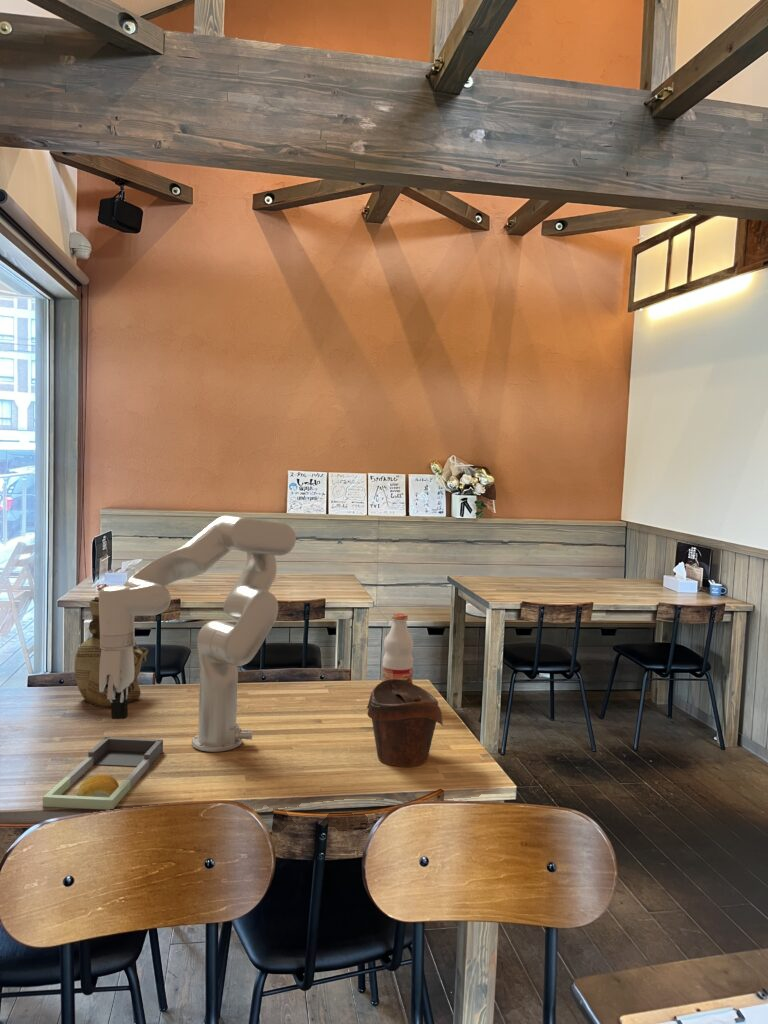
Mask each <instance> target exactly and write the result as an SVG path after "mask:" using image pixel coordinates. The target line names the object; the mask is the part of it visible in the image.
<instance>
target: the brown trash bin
mask: <svg viewBox="0 0 768 1024" xmlns="http://www.w3.org/2000/svg"><path fill="white" fill-rule="evenodd" d="M366 709H368V711H367V717H369V718H370V719H371V722H372V729H373V735H374V741H375V748H376V755H377V758H378V761H380V762H382V763H384V764H387V765H390V766H393V767H400V768H411V767H413V768H414V767H417V766H418V767H419V766H421V765H423V764H425V763H426V762H427V760H428V759H429V754H430V751H431V746H432V741H433V737H434V734H435V728H436V724H437V723H438V724H440V725H441V726H442V727H444V724H443V712H442V709H441V707H440V706H439V701H438V700H437V699H436V698H435V697H434V696H433V695H432V694H431V693H429V691H427V690H425V689H423V688H422V687H420V686H418V685H416V684H414V683H413V682H412V683H410V682H407V681H403V680H397V679H390V680H386V681H383V682H382V681H381V682H379V683H378V684H377V685H376V686H375V687H374V688H373V689H372V691H371V692H370V697H369V701H368V703H367V705H366Z"/></svg>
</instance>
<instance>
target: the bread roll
mask: <svg viewBox="0 0 768 1024" xmlns="http://www.w3.org/2000/svg"><path fill="white" fill-rule="evenodd" d="M119 786H120V784H119V782H118V780H117V779H115V778H114V777H113V776H112V775H109V774H96V775H93V776H91V777H88V778H87V779H85V780H84V781H82V782H81V784H80V785H79V787H78V788H77V791H76V796H89V797H110V796H111V795H112V794H113V792H114V791H115V790H116V789H117V788H118V787H119Z"/></svg>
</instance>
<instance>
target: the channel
mask: <svg viewBox="0 0 768 1024" xmlns="http://www.w3.org/2000/svg"><path fill="white" fill-rule="evenodd" d="M163 750H164V740H163V739H158V738H157V739H156V738H155V739H154V738H134V737H133V738H132V737H113V736H112V737H111V736H109V737H108V736H105V737H103V739H101V740H100V742H98V743H97V744H96V745H94V746H93V748H91V749H89V751H88V755H87V757H86V758H85V759H83V761H82V762H80V763H79V764H78V765H76V767H75V768H73V769H72V770H71V771H70V772H69V773H68V774H67V775H66V776H65V777H64V778H62V779H61V780H60V781H59V782H58V783H57V784H56V785H55V786H54V787H52V788H51V789H49V791H48V792H47V793H45V794H44V795H43V796H42V807H43V808H44V807H46V808H63V809H65V808H66V809H67V808H68V809H87V810H88V809H89V810H107V811H111V810H110V809H113V810H114V809H115V808H116V807H117V805H118V804H119V803H120V802H121V800H122V799H123V798H124V797H125V796H126V795H127V794H128V792H129V791H130V790H131V789H133V787H134V785H135V784H136V783H137V782H138V781H139V780H140V778H141V777H142V776H143V775H144V774H145V773H146V772H147V770H148V769H149V768H150V767H151V766H152V765H153V764H154V763H155V761H156V760H157V759H158V758H159V757H160V756H161V754H162V753H164V752H163ZM93 766H109V767H110V766H111V767H128V768H129V767H130V768H133V767H134V769H133V770H132V771H131V773H129V775H128V776H127V777H126V778H125V780H123V781H122V783H120V784H119V787H118V788H117V789H116V790H115V791H114V792H113V794H112V795H111V796H110V797H89V796H77V795H65V794H64V793H65V792H66V791H67V790H68V789H70V787H72V785H73V784H74V783H76V782H77V781H78V780H79V779H80V778H81V777H82V776H84V774H85V773H86V772H87V771H88V770H89V769H91V768H92V767H93ZM63 794H64V795H63Z"/></svg>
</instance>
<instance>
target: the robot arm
mask: <svg viewBox="0 0 768 1024" xmlns="http://www.w3.org/2000/svg"><path fill="white" fill-rule="evenodd" d="M296 541H297V536H296V533H295V530H294V529H293V528H292V526H290V525H289V524H286V523H284V522H275V521H269V520H262V519H261V520H260V519H256V518H251V517H243V516H238V515H222V516H219V517H217V518H216V519H214V520H213V521H212V522H210V523H209V524H208V525H207V526H205V527H204V528H203V529H202V530H201V531H199V532H198V533H197V534H196V535H195V536H194V537H192V538H191V539H189V540H188V541H187V542H186V543H184V544H183V545H182V546H180V547H179V548H176V549H175V550H172V551H170V552H168V553H166V554H165V555H162V556H160V557H158V558H156V559H153V560H151V562H149V563H147V564H146V565H144V566H143V567H142V568H140V569H139V570H138V571H136V572H135V573H134V574H133V575H132V576H130V577H129V578H128V579H127V580H126V581H125V583H124V584H122V585H109V586H105V587H102V588H101V589H100V590H99V592H98V599H99V623H100V648H101V649H102V650H101V656H100V670H99V691H100V692H101V693H103V692H105V691H106V690H107V689H108V694H107V699H108V700H110V702H111V708H110V711H111V712H110V713H111V714H110V715H111V719H112V720H125V719H126V718H127V717H128V716H129V712H128V708H129V707H128V705H129V704H128V703H127V700H125V699H127V698H128V687H129V685H130V684H131V683H132V682H133V680H134V654H133V646H135V642H136V641H135V640H136V638H135V637H136V636H135V635H136V634H135V631H136V630H135V629H136V628H135V617H137V616H138V617H141V616H144V617H145V616H146V617H147V616H157V615H159V614H160V615H161V614H162V613H164V612H165V611H166V610H167V609H168V608H169V607H170V604H171V601H172V596H171V593H170V591H169V590H168V588H166V587H167V586H169V585H170V584H172V583H175V582H178V581H179V580H185V579H189V578H194V577H197V576H200V575H201V576H202V574H205V573H206V572H207V571H208V570H209V569H210V568H212V567H213V566H215V564H216V563H217V562H219V561H220V560H221V559H223V557H225V556H226V555H227V554H229V553H230V552H231V551H238V552H245V553H246V562H245V565H244V568H243V569H242V571H241V573H240V575H239V577H238V578H237V580H236V581H235V583H234V585H232V588H231V590H230V591H229V593H228V595H226V598H225V600H224V602H223V611H224V614H225V615H226V616H227V617H228V618H229V619H230V620H233V621H236V623H230V622H227V621H223V620H211V621H209V622H207V623H205V624H204V625H202V627H201V628H200V630H199V632H198V634H197V639H196V648H197V654H198V664H199V689H198V690H199V692H198V694H199V695H198V697H199V698H198V729H197V734H196V735H195V736H193V737H192V738H191V746H192V747H193V748H194V749H196V750H199V751H202V752H211V753H217V752H226V751H230V750H233V749H236V748H238V747H239V746H240V745H242V742H243V740H253V737H254V734H253V733H254V732H253V731H251V729H250V728H245V729H242V728H241V727H240V722H237V714H238V712H237V710H238V709H237V707H238V682H239V681H238V680H239V676H238V675H239V674H238V667H241V666H245V665H246V664H248V663H250V662H251V661H252V660H253V658H255V656H256V655H257V653H258V652H259V650H260V648H261V646H262V645H263V643H264V642H265V640H266V638H267V636H268V634H269V633H270V631H271V630H272V627H274V624H275V623H276V620H277V618H278V613H279V603H278V600H277V598H276V596H275V595H274V594H273V593H272V592H270V589H271V587H272V585H273V583H274V581H275V579H276V574H277V560H276V559H277V558H276V556H279V557H280V556H285V555H287V554H289V553H290V552H291V551H292V550H293V549H294V547H295V545H296V543H297V542H296Z"/></svg>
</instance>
